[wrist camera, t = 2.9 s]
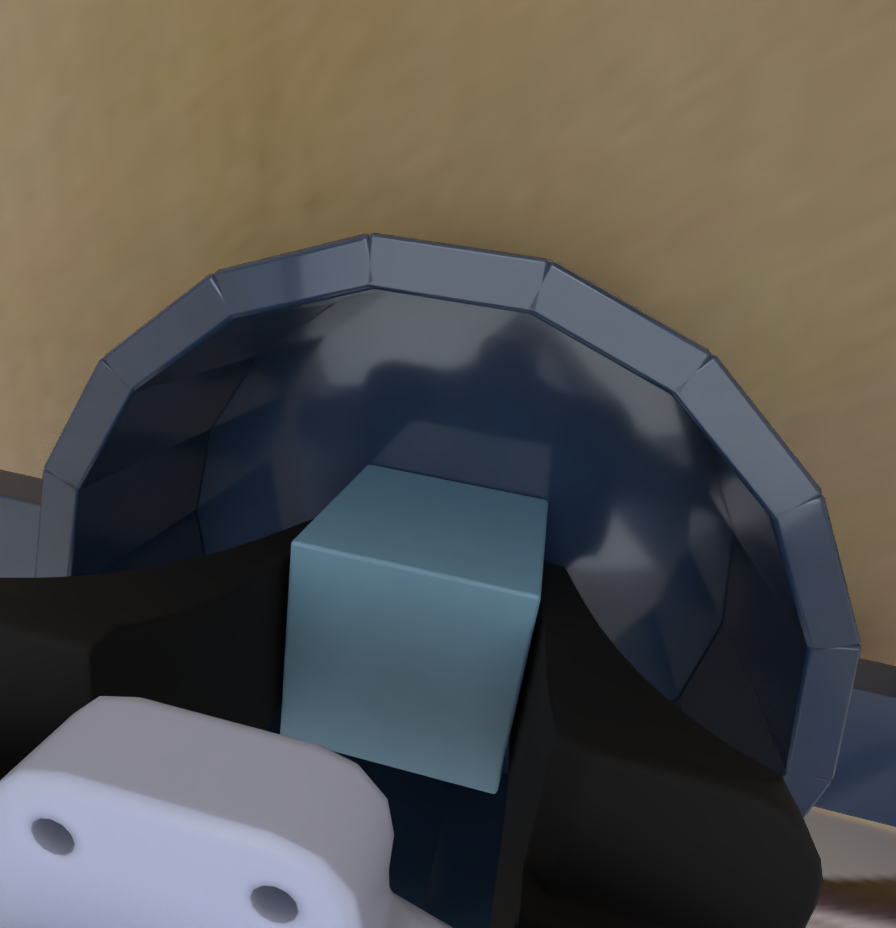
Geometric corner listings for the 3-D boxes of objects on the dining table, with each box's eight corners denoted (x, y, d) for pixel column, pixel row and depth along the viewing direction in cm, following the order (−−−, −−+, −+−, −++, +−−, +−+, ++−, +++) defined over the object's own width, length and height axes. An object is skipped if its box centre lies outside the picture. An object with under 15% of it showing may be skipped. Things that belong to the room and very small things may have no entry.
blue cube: (515, 655, 14) (496, 796, 10) (352, 616, 15) (278, 737, 11) (548, 499, 13) (541, 597, 9) (367, 463, 13) (289, 540, 9)
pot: (774, 865, 15) (854, 1096, 11) (103, 686, 18) (-43, 819, 13) (1019, 329, 11) (1316, 372, 6) (69, 188, 13) (-167, 152, 9)
